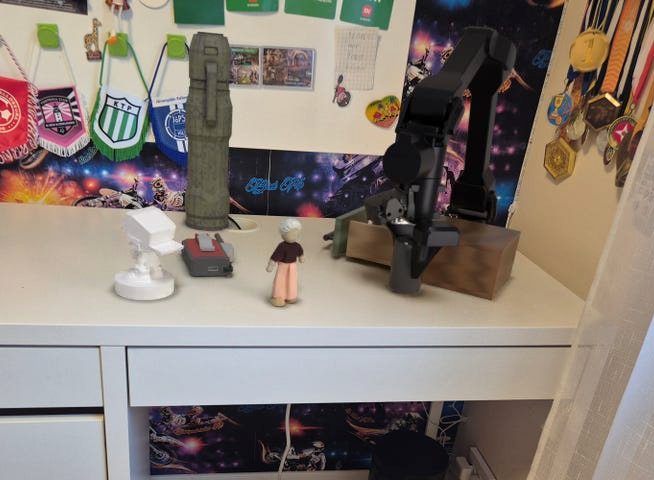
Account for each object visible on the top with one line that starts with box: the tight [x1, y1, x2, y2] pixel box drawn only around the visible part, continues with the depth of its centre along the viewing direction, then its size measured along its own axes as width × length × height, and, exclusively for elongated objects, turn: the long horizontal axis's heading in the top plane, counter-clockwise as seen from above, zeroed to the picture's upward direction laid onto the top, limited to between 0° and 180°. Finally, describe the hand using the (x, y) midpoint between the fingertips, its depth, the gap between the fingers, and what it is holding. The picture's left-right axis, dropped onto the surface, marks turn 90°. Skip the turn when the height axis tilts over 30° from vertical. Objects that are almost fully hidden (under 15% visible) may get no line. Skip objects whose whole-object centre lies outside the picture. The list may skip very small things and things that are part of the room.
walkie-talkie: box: [180, 232, 235, 278], centre depth 110 cm, size 9×4×20 cm
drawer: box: [322, 205, 394, 267], centre depth 118 cm, size 19×13×7 cm
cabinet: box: [422, 214, 522, 301], centre depth 112 cm, size 17×15×9 cm
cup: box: [387, 236, 424, 295], centre depth 104 cm, size 5×5×8 cm
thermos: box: [184, 31, 234, 231], centre depth 123 cm, size 9×12×35 cm
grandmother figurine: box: [265, 217, 306, 307], centre depth 94 cm, size 8×4×13 cm, turn 148°
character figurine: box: [114, 205, 184, 301], centre depth 93 cm, size 9×10×12 cm
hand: (406, 272), depth 104 cm, fingers closed on cup, 5 cm apart
